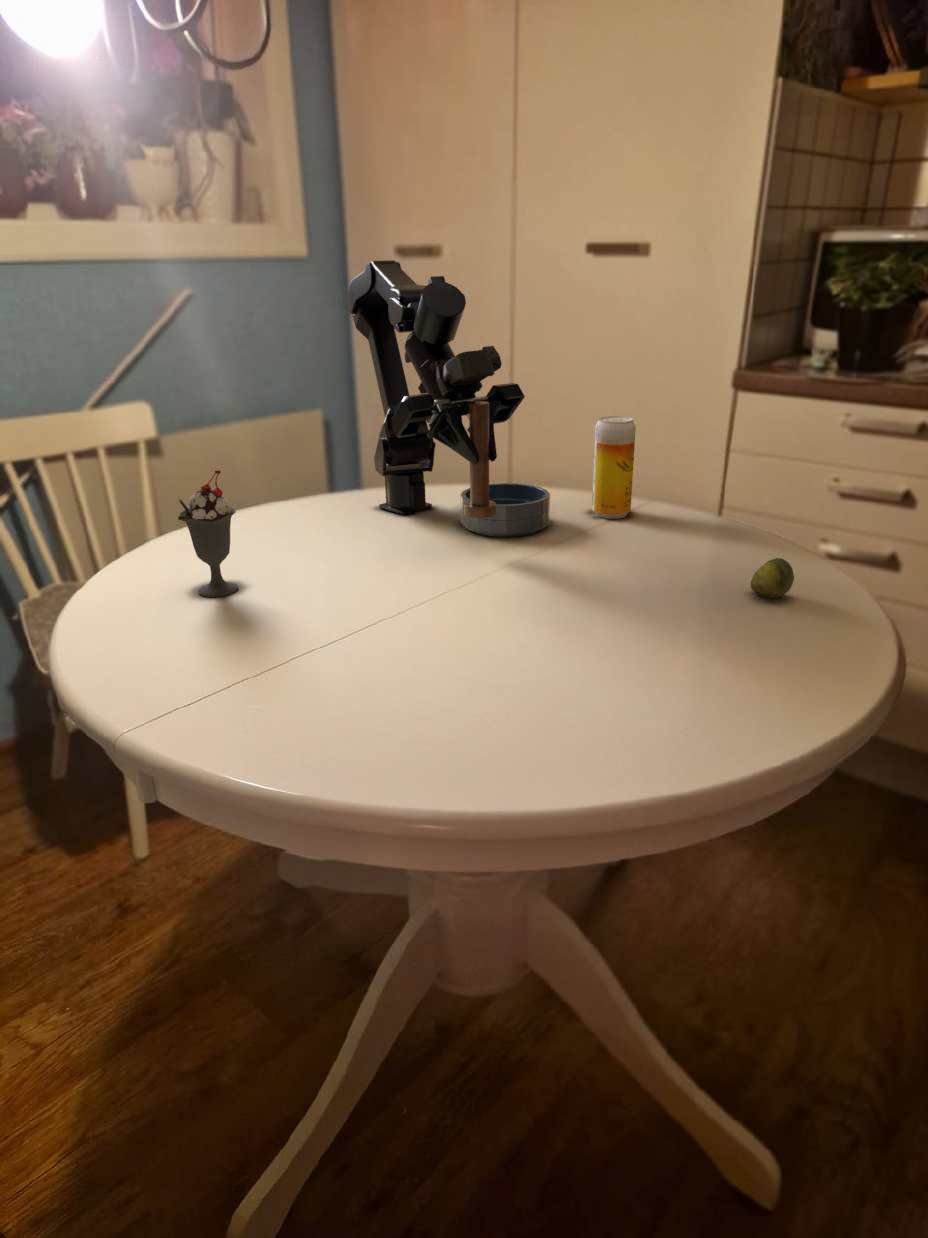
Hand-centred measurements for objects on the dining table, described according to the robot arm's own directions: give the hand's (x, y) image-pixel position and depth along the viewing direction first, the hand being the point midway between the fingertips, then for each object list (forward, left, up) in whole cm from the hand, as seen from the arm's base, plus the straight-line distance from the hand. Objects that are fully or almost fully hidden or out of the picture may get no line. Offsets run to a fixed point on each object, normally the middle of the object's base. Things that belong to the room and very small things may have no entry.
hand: (485, 461), depth 114 cm
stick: (-1, 0, -8) cm, 8 cm away
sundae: (-15, -33, -13) cm, 38 cm away
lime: (+36, +12, -13) cm, 40 cm away
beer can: (0, +28, -13) cm, 31 cm away
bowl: (-8, +12, -13) cm, 20 cm away
